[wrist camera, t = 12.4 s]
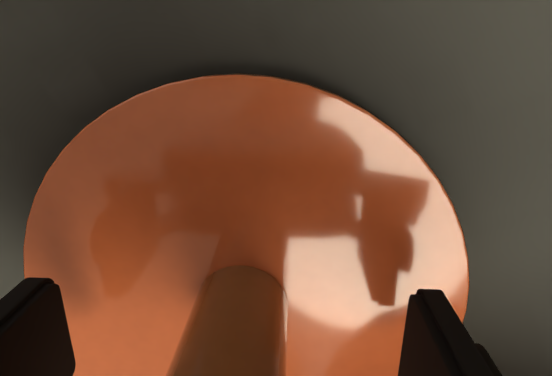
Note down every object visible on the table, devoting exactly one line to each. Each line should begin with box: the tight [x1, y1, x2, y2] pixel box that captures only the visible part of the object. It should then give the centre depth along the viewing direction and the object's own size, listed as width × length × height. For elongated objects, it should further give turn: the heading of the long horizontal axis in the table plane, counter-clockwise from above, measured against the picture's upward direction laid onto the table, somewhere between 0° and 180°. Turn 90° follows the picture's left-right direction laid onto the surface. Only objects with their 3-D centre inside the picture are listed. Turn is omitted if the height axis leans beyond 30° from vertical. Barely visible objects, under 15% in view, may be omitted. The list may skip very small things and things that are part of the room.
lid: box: [23, 73, 469, 376], centre depth 10 cm, size 14×14×7 cm
